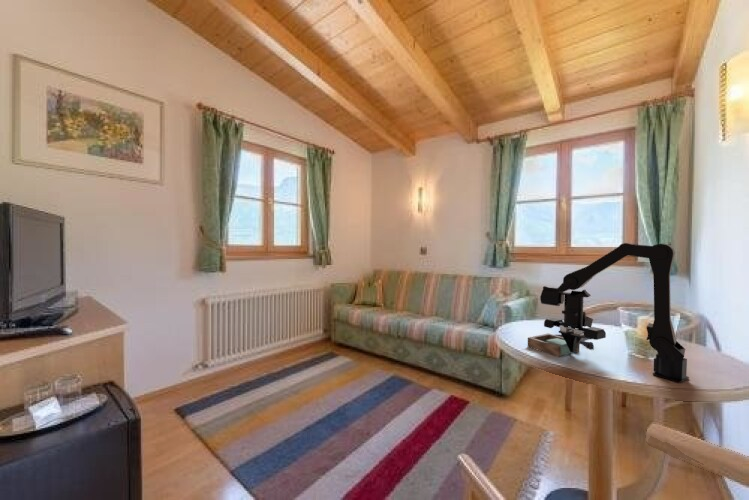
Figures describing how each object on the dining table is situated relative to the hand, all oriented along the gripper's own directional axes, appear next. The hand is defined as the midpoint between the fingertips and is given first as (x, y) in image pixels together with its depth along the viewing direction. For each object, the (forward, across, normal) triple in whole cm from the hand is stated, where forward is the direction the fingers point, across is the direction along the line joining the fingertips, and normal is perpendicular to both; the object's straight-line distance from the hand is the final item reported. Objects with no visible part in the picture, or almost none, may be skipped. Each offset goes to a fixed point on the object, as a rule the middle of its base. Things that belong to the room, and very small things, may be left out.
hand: (572, 352), depth 117 cm
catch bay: (+1, +7, 0) cm, 7 cm away
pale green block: (+2, +5, 0) cm, 5 cm away
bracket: (+2, +7, -18) cm, 19 cm away
